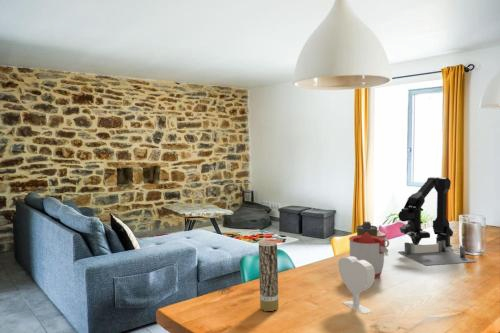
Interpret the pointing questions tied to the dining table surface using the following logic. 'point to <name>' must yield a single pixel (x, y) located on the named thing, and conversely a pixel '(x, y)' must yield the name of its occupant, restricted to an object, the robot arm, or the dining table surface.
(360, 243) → the citrus juicer
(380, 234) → the teacup with lid
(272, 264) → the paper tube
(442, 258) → the mat
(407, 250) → the posts
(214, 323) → the dining table surface
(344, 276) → the heart sculpture
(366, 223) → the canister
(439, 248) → the cream rectangular bar
